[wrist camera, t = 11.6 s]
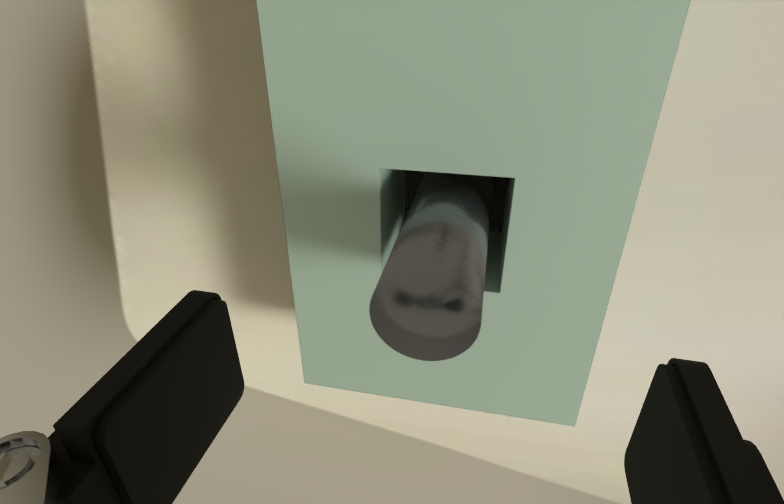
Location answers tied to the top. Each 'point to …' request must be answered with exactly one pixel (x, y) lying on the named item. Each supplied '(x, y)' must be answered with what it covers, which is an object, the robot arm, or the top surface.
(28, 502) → the robot arm
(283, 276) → the top surface
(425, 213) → the peg
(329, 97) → the green block with hole
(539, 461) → the top surface
